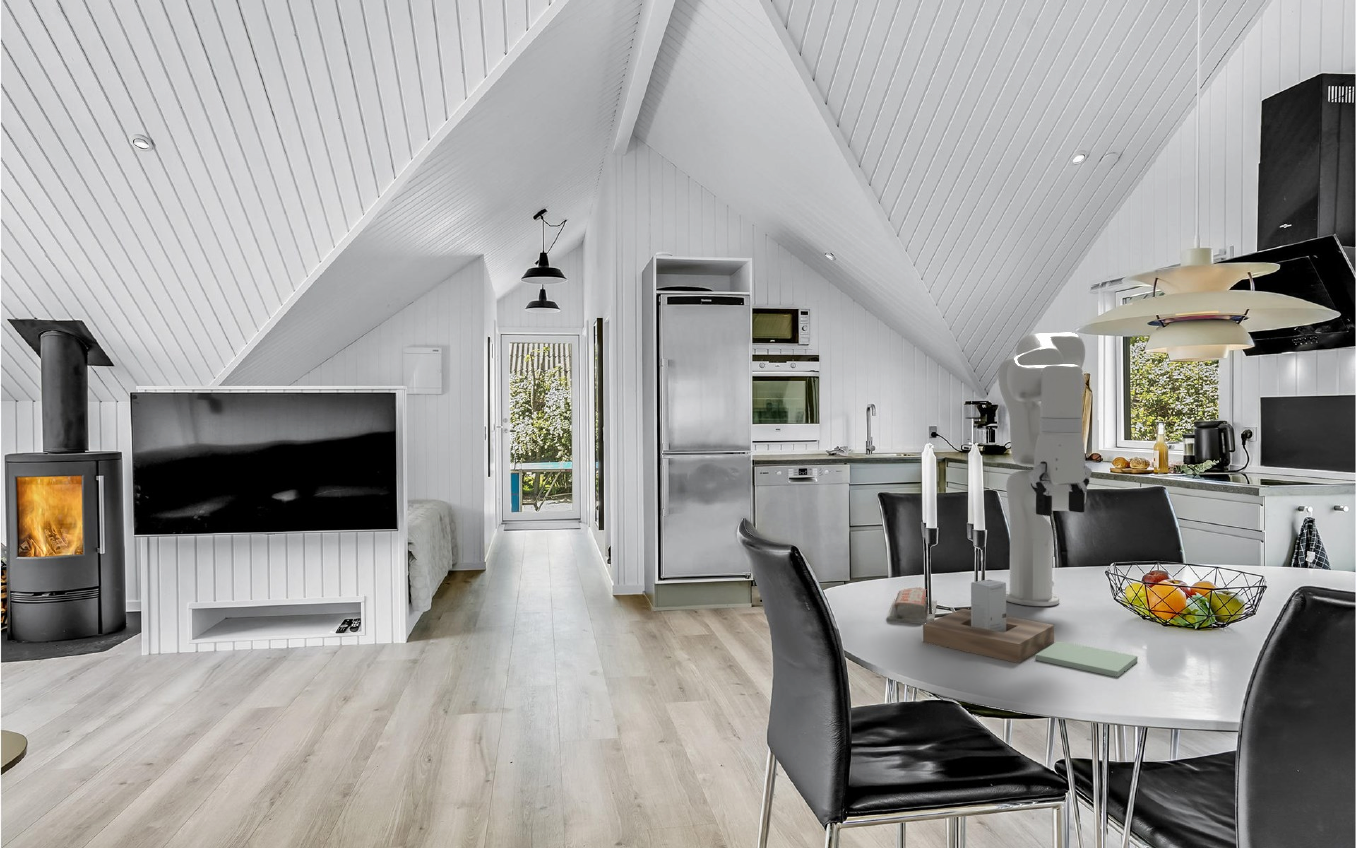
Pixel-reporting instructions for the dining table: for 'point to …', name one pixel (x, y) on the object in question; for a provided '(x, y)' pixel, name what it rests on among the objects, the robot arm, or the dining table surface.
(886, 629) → the dining table surface
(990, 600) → the skincare box
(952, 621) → the pocket block
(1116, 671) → the mat
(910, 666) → the dining table surface
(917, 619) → the pink and beige block
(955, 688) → the dining table surface
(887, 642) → the dining table surface
